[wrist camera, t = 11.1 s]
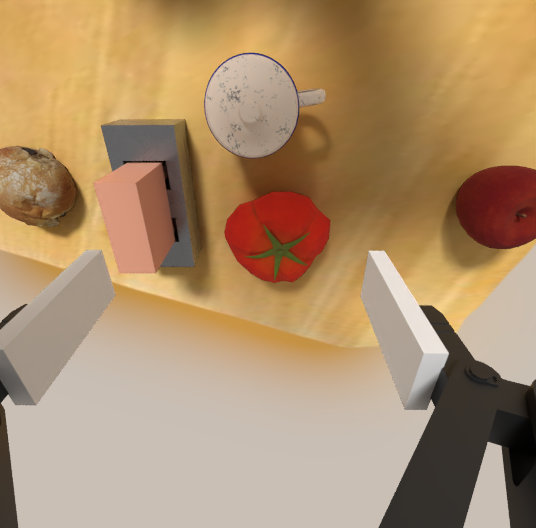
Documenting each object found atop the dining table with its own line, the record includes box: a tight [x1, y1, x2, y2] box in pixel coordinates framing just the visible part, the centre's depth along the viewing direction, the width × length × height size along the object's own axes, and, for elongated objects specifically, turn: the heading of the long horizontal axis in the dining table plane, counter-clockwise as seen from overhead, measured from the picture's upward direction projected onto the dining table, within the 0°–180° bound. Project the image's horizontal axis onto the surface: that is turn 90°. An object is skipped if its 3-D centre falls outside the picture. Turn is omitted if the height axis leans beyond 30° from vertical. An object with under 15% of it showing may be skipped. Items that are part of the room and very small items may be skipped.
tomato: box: [224, 192, 330, 283], centre depth 42 cm, size 14×13×9 cm
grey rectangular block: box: [101, 119, 202, 267], centre depth 41 cm, size 18×8×5 cm, turn 0°
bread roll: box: [0, 146, 76, 227], centre depth 41 cm, size 10×10×8 cm
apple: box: [456, 166, 536, 249], centre depth 39 cm, size 10×10×10 cm
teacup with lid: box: [204, 53, 326, 158], centre depth 33 cm, size 12×9×12 cm
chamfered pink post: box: [93, 163, 177, 273], centre depth 37 cm, size 10×4×11 cm, turn 0°
